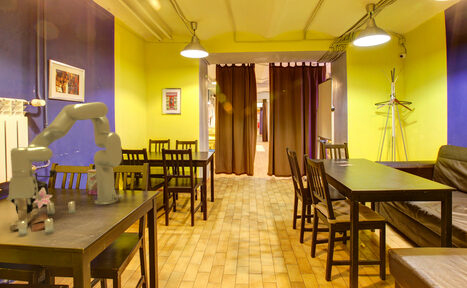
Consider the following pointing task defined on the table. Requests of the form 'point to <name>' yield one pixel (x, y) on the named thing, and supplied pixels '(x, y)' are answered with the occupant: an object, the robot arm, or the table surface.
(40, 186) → the manual coffee grinder
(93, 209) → the table surface
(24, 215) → the beige t-shaped block
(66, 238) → the table surface
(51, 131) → the robot arm
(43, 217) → the sunglasses case
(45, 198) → the lily
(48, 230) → the light bulbs
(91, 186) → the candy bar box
